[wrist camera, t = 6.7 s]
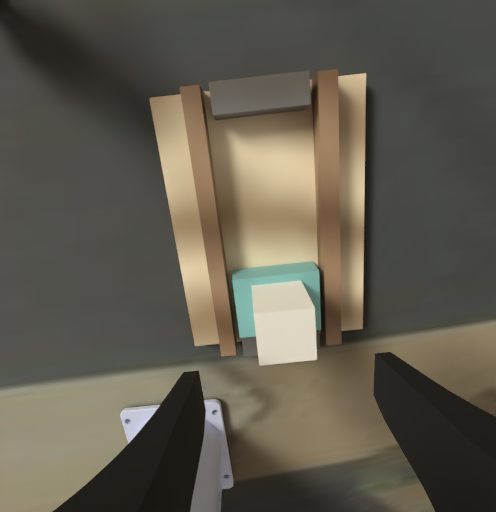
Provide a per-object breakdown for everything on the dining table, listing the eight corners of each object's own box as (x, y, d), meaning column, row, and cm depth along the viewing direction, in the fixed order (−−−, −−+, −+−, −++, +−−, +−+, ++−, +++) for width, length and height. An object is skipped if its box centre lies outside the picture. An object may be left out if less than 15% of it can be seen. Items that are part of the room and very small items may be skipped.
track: (357, 321, 22) (373, 343, 19) (197, 338, 22) (190, 362, 19) (359, 78, 17) (380, 62, 14) (154, 101, 17) (138, 90, 15)
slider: (314, 315, 20) (338, 365, 15) (239, 323, 20) (239, 375, 15) (312, 261, 19) (337, 295, 14) (233, 269, 19) (229, 307, 14)
